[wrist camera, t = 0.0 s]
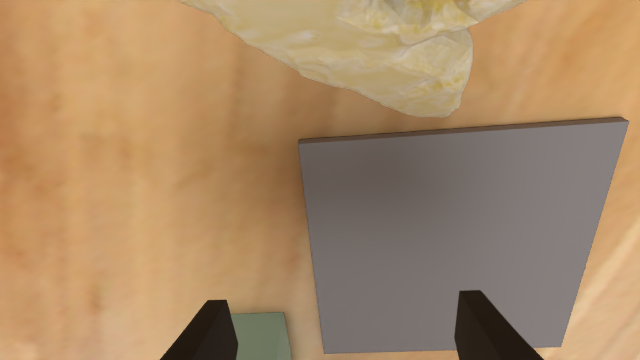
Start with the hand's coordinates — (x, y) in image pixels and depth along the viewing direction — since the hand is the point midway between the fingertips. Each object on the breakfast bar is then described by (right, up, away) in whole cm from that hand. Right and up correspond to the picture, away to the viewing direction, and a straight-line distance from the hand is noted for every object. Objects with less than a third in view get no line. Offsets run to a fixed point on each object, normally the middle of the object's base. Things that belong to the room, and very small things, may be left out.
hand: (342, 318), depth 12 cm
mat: (+7, 0, +11) cm, 13 cm away
